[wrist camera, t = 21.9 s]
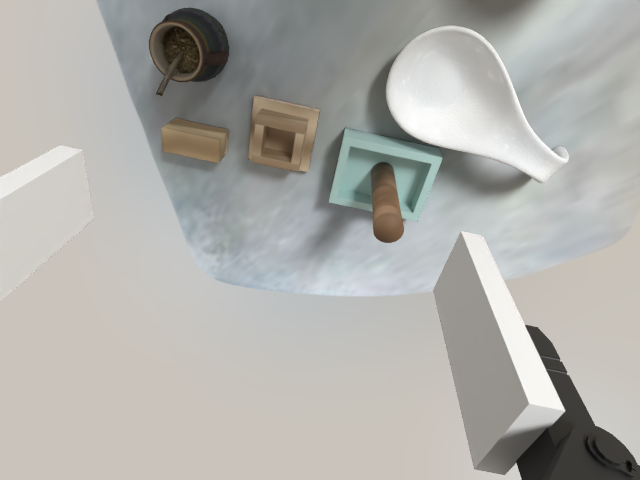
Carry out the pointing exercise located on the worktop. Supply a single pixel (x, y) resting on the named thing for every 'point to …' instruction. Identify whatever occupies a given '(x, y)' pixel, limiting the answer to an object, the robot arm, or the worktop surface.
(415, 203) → the tray
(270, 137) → the socket block
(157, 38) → the mate gourd
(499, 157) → the spoon rest
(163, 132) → the block
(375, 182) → the dowel
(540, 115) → the worktop surface
